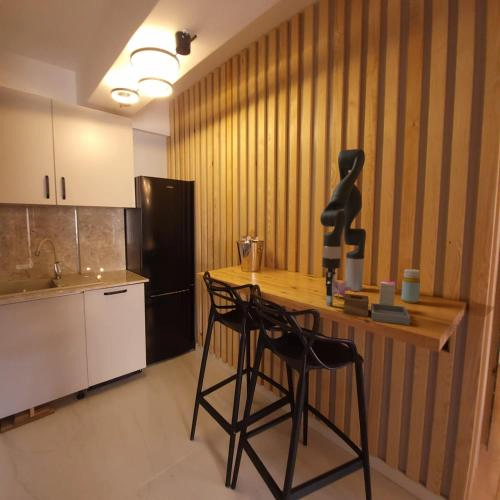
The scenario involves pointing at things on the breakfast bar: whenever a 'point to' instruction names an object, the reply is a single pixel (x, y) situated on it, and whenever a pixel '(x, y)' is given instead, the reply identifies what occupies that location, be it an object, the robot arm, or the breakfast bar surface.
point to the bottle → (411, 286)
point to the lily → (340, 288)
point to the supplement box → (387, 292)
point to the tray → (389, 314)
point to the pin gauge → (330, 298)
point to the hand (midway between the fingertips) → (330, 293)
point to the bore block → (356, 304)
